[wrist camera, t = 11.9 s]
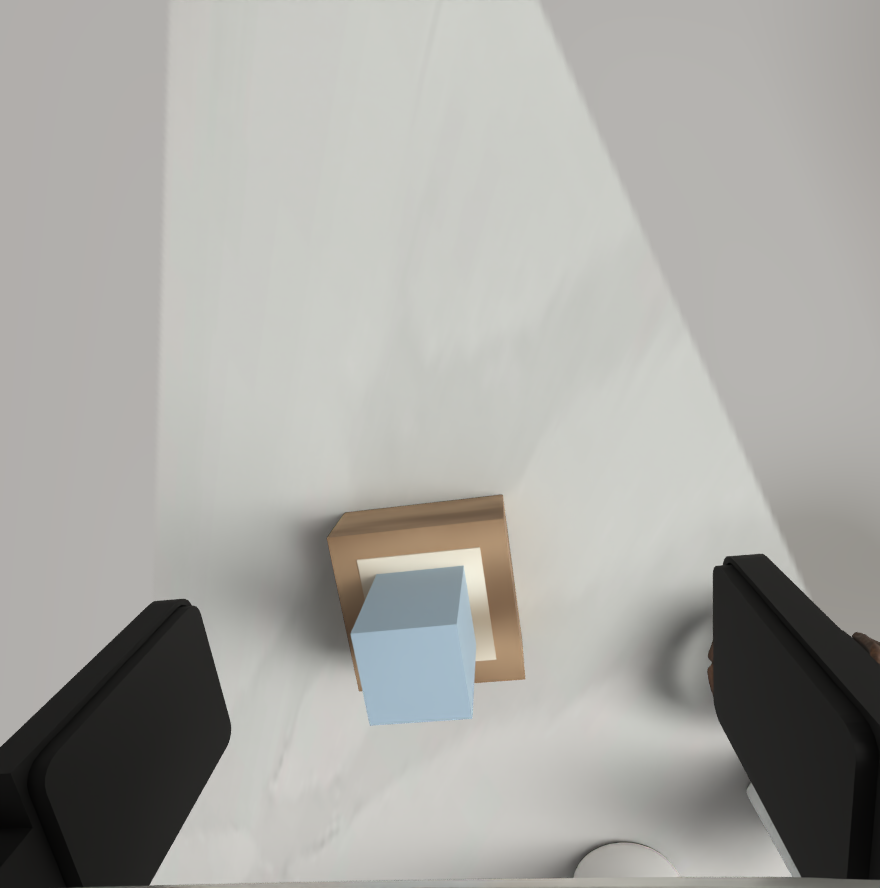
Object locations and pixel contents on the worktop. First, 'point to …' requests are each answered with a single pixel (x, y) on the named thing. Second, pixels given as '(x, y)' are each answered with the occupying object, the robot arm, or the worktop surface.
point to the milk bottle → (624, 862)
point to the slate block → (416, 647)
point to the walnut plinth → (437, 546)
